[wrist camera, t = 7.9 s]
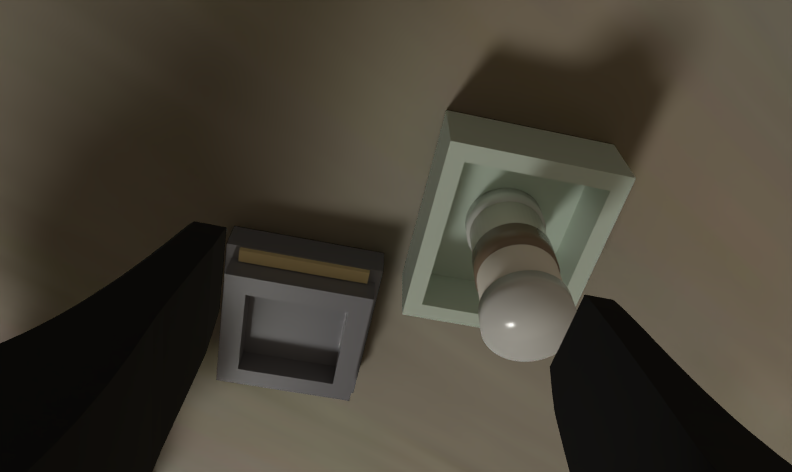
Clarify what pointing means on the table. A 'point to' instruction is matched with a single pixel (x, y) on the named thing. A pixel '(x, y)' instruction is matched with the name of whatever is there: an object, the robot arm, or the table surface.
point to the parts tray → (520, 169)
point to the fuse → (517, 277)
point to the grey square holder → (295, 313)
